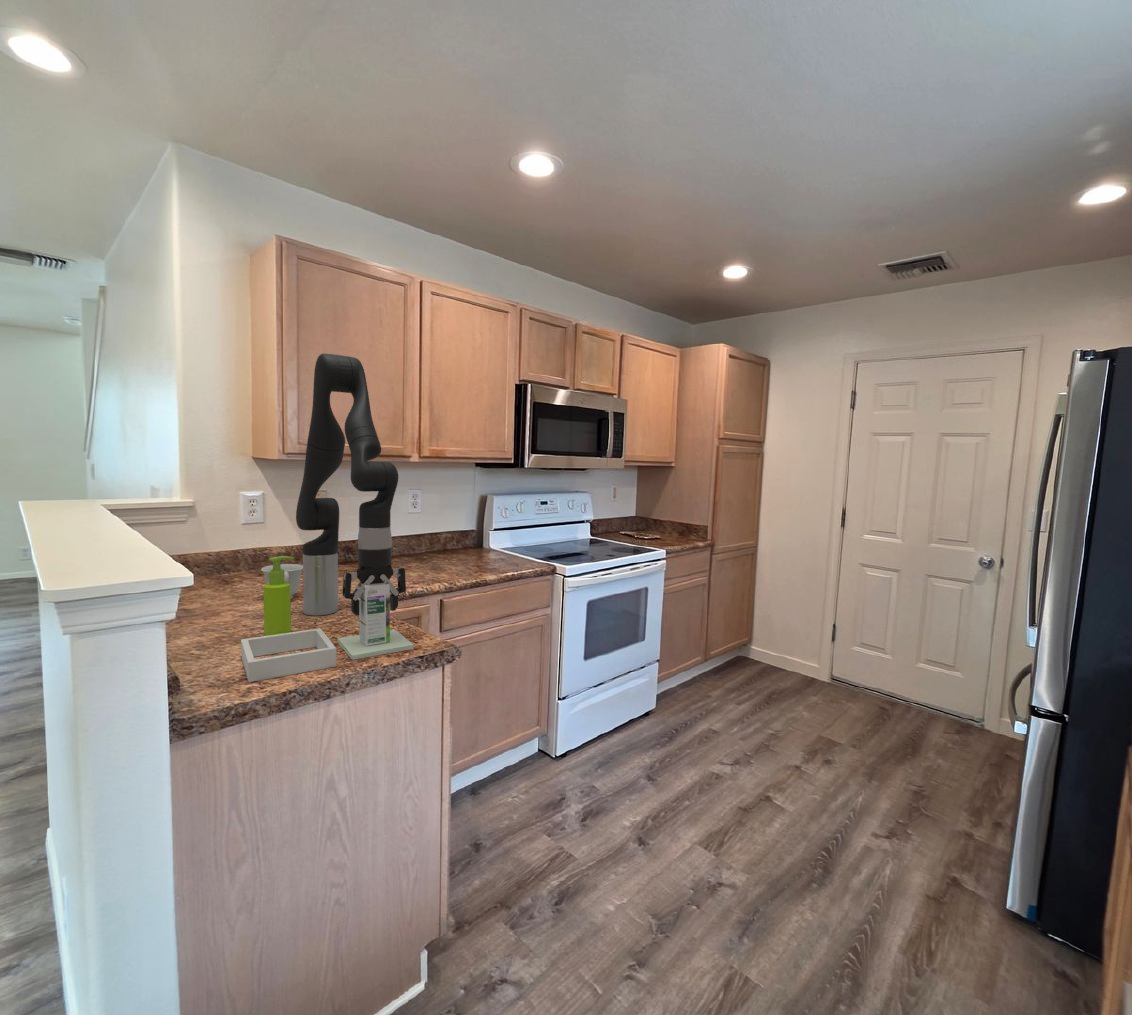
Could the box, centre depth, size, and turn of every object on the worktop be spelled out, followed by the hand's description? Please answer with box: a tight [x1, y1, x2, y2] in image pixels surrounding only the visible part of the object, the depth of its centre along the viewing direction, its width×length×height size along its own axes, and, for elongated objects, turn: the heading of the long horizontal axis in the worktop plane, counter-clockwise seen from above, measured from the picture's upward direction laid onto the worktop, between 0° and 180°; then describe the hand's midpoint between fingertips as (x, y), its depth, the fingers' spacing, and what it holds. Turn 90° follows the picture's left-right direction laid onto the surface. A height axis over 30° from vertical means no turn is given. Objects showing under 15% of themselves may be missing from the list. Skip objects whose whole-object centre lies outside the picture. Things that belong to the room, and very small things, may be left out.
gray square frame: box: [240, 627, 337, 683], centre depth 118 cm, size 16×16×4 cm
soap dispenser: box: [262, 555, 295, 636], centre depth 135 cm, size 6×7×20 cm
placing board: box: [337, 628, 415, 661], centre depth 130 cm, size 14×14×1 cm
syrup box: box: [358, 583, 391, 646], centre depth 130 cm, size 6×6×14 cm
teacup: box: [260, 563, 303, 600], centre depth 169 cm, size 12×15×10 cm
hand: (375, 612), depth 130 cm, fingers open, 8 cm apart
